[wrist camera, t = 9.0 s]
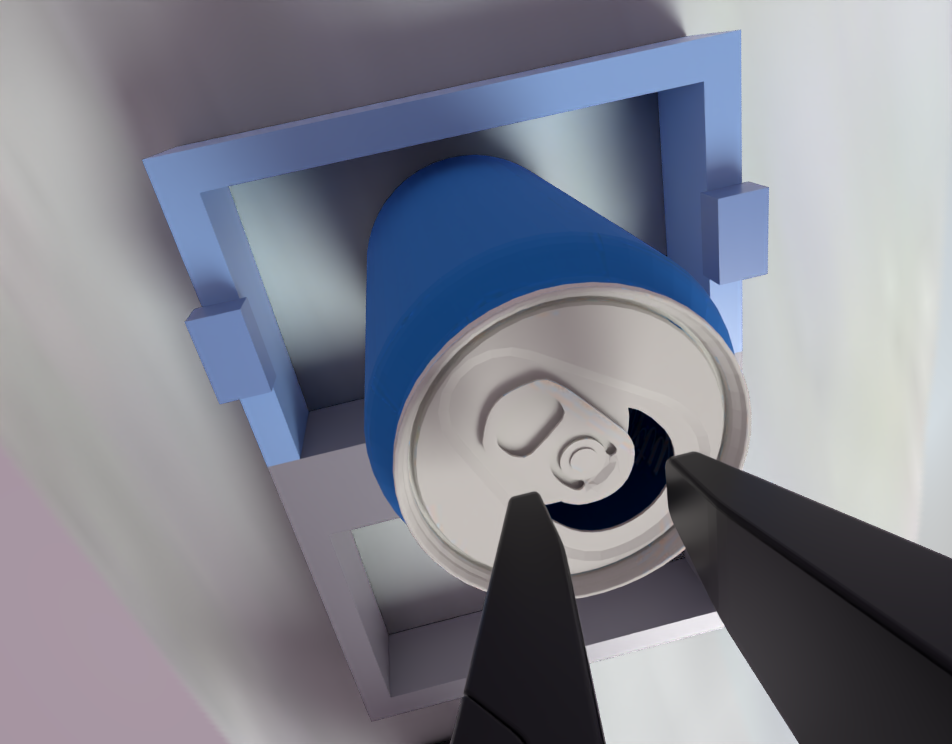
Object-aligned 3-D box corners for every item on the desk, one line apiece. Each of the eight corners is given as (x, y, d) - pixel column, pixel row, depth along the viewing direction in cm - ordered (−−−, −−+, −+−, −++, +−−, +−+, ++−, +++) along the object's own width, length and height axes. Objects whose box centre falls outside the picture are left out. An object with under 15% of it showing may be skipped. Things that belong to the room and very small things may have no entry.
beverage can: (483, 383, 22) (587, 669, 12) (326, 278, 20) (274, 517, 9) (606, 237, 21) (857, 412, 10) (451, 104, 18) (564, 149, 8)
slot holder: (712, 568, 28) (762, 641, 24) (366, 658, 27) (366, 747, 24) (694, 34, 19) (771, 25, 15) (169, 148, 18) (118, 166, 14)
